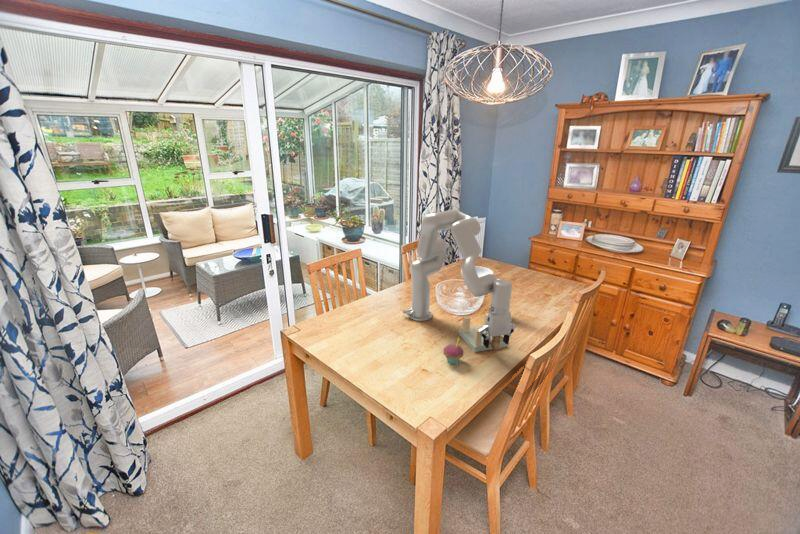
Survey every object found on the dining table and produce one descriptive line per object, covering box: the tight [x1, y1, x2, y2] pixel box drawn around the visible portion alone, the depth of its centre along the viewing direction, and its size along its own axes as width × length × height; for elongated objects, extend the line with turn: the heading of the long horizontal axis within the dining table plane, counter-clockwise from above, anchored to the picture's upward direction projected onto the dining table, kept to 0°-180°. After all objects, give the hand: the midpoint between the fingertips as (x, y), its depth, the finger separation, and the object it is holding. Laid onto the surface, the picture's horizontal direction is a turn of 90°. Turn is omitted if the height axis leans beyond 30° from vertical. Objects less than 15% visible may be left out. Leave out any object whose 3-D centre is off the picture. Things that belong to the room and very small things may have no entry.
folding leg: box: [489, 335, 502, 351], centre depth 154 cm, size 8×2×7 cm, turn 16°
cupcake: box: [442, 335, 465, 365], centre depth 147 cm, size 9×8×12 cm
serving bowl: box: [460, 265, 494, 278], centre depth 231 cm, size 21×21×7 cm
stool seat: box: [458, 312, 508, 353], centre depth 163 cm, size 16×16×10 cm
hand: (495, 344), depth 152 cm, fingers open, 9 cm apart
